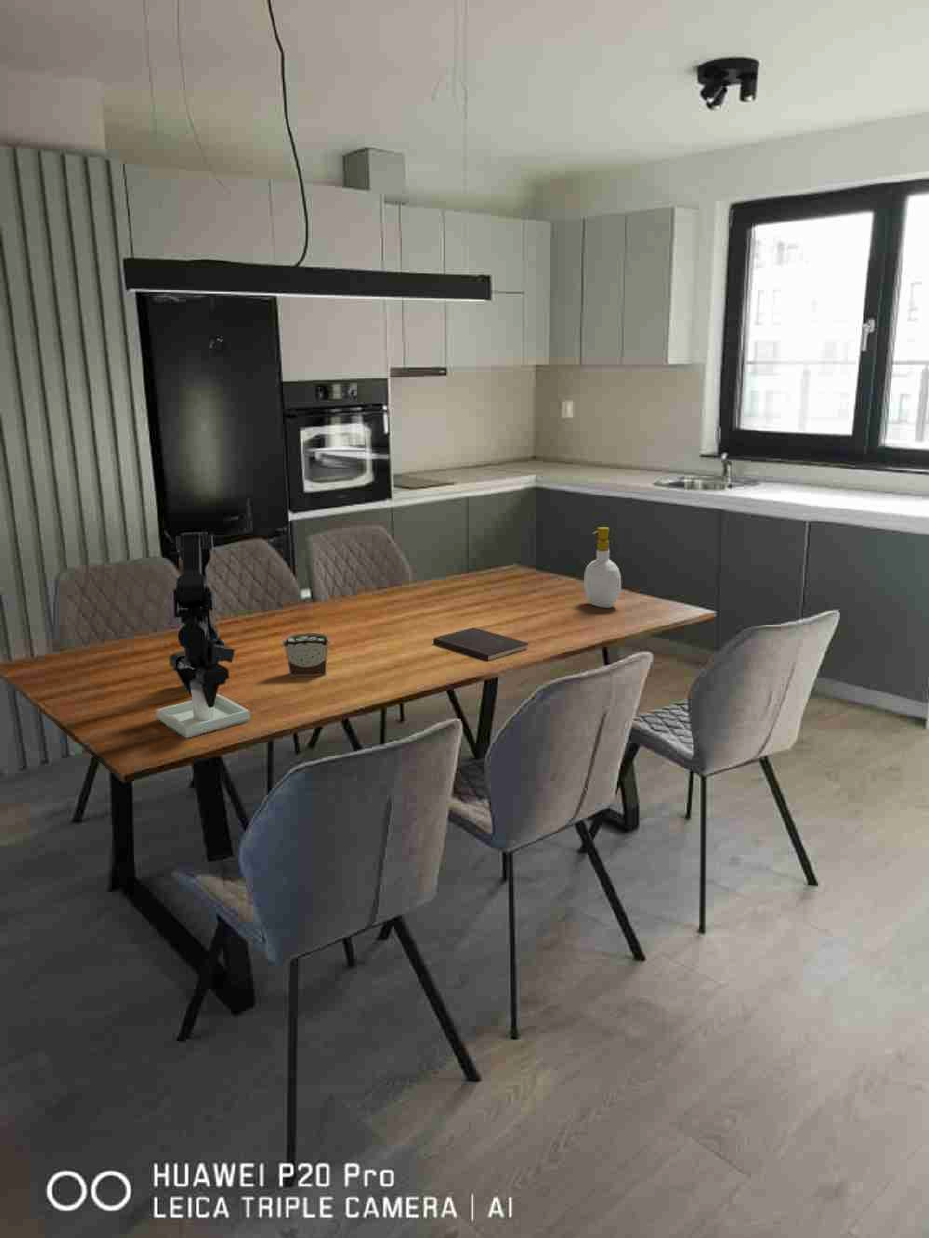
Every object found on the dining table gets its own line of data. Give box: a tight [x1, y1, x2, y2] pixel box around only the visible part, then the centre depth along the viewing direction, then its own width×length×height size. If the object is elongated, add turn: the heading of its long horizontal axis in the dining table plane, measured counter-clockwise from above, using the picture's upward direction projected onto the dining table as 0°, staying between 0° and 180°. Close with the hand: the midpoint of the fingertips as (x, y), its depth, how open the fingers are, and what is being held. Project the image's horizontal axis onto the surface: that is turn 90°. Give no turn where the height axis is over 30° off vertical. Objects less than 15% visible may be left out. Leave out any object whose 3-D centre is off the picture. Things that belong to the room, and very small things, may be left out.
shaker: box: [190, 677, 213, 721], centre depth 222 cm, size 5×5×9 cm
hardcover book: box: [432, 627, 530, 662], centre depth 276 cm, size 16×23×2 cm
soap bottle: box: [583, 526, 622, 609], centre depth 314 cm, size 14×9×26 cm, turn 40°
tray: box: [156, 693, 251, 739], centre depth 223 cm, size 16×16×2 cm
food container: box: [282, 632, 331, 677], centre depth 255 cm, size 12×6×10 cm, turn 92°
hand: (201, 701), depth 222 cm, fingers open, 9 cm apart
